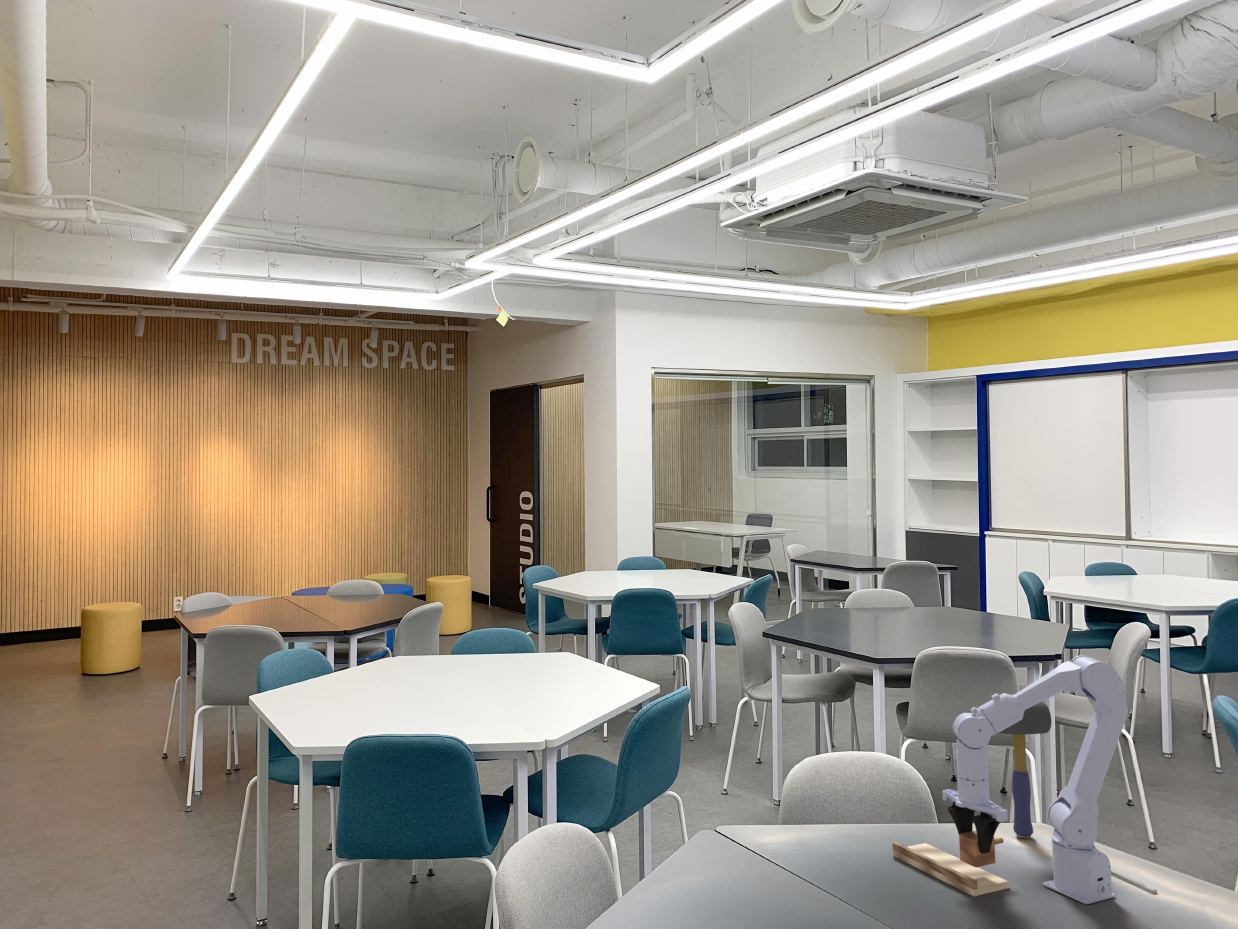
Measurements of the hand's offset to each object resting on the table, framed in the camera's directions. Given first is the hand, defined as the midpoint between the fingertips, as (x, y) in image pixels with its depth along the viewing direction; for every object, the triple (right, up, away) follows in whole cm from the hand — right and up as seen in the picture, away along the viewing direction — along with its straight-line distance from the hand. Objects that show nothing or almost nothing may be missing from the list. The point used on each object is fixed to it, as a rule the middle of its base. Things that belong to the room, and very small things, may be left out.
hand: (975, 848), depth 166 cm
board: (-3, -7, +6) cm, 10 cm away
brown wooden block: (+2, -3, +1) cm, 4 cm away
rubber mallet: (+21, -8, +24) cm, 32 cm away
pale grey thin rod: (+30, -7, 0) cm, 31 cm away
